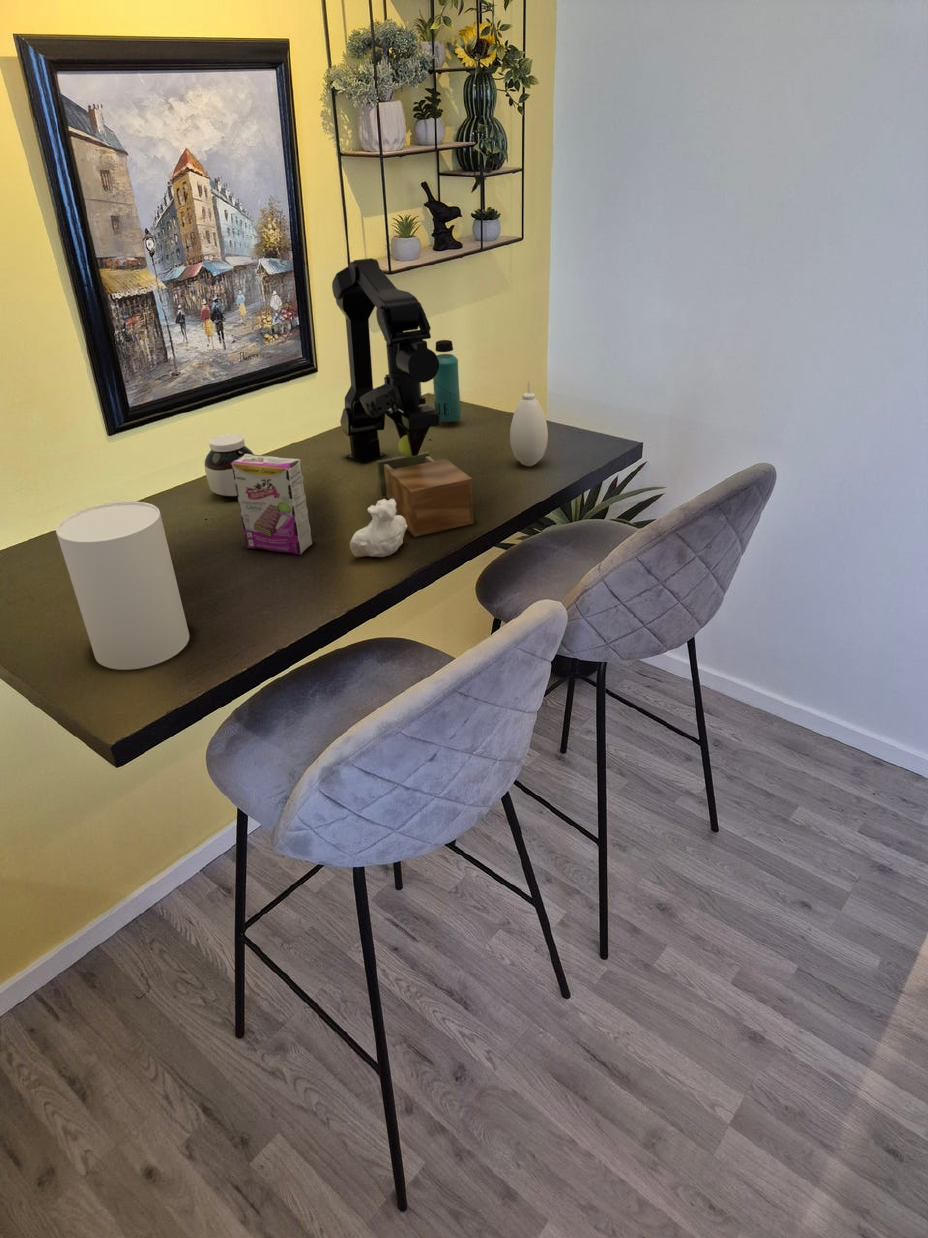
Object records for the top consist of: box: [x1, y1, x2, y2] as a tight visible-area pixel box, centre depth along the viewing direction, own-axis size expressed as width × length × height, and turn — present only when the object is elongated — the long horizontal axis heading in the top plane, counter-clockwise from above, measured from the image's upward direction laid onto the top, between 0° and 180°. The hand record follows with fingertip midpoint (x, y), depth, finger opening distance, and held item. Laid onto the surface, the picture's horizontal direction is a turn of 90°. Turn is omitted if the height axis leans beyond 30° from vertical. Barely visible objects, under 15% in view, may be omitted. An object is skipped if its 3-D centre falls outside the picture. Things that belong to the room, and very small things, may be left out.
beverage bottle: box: [432, 339, 462, 423], centre depth 207 cm, size 6×7×20 cm
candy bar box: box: [231, 454, 313, 555], centre depth 151 cm, size 11×5×16 cm, turn 71°
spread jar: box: [204, 433, 255, 501], centre depth 177 cm, size 12×11×12 cm
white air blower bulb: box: [509, 380, 549, 467], centre depth 181 cm, size 8×8×18 cm
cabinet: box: [388, 458, 475, 538], centre depth 161 cm, size 12×12×9 cm
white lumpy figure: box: [349, 498, 407, 558], centre depth 149 cm, size 12×8×11 cm
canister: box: [55, 500, 190, 671], centre depth 123 cm, size 14×14×20 cm
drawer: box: [376, 450, 436, 500], centre depth 169 cm, size 12×11×7 cm
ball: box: [397, 435, 422, 458], centre depth 165 cm, size 4×4×4 cm
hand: (410, 451), depth 165 cm, fingers closed on ball, 4 cm apart
